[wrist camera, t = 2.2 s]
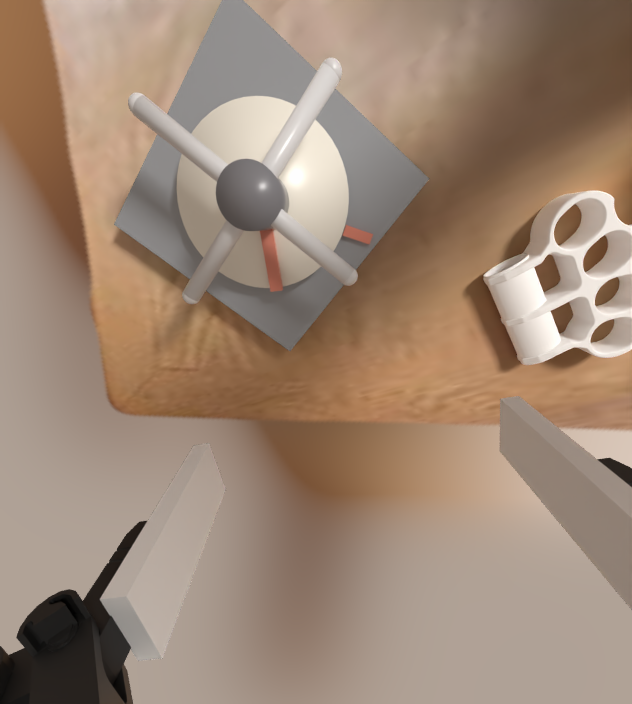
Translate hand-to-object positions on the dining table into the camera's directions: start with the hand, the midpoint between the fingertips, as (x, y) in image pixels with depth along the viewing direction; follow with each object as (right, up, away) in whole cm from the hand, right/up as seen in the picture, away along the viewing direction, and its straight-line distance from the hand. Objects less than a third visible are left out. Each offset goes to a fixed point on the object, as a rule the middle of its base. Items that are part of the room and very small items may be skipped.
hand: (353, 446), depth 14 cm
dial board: (-7, +19, +18) cm, 27 cm away
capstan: (-7, +19, +16) cm, 25 cm away
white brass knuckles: (+25, +12, +20) cm, 35 cm away
